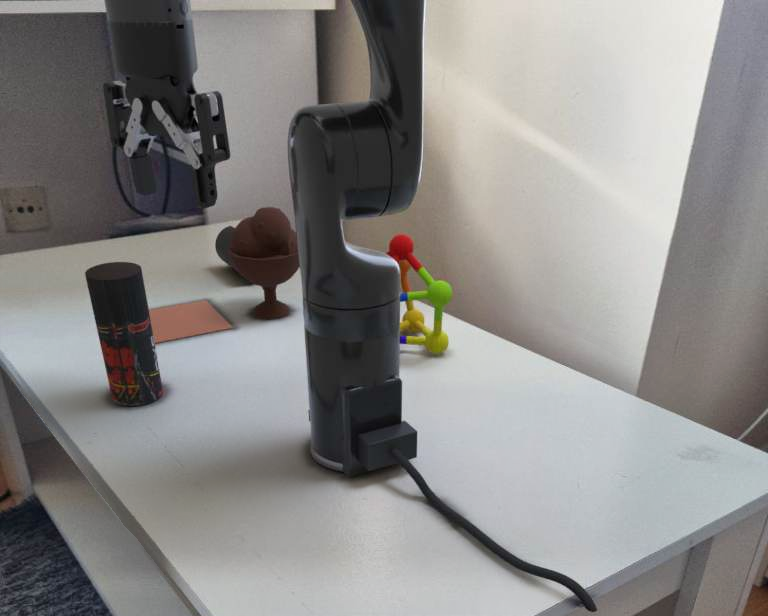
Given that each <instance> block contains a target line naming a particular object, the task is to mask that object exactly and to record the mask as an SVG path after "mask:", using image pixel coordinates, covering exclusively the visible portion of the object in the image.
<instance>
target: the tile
mask: <svg viewBox="0 0 768 616" xmlns="http://www.w3.org/2000/svg"><path fill="white" fill-rule="evenodd" d="M149 314H150V320H151V326H152V331H153V337H154V343H155V344H159V343H164V342H169V341H170V342H171V341H175V340H180V339H185V338H191V337H196V336H200V335H207V334H210V333H215V332H221V331H226V330H230V329H231V330H232V329H234V327H233V326H232V325H231V324H230V322H228V321H227V320H226V318H225V317H223V315H222V314H221V313H219V312H218V311H217V310H216V309H215V307H213V306H212V305H211V303H210V302H209V301H207V300H206V299H204V300H198V301H193V302H187V303H182V304H176V305H171V306H165V307H160V308H154V309H149Z"/></svg>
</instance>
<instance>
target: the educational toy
mask: <svg viewBox="0 0 768 616" xmlns="http://www.w3.org/2000/svg"><path fill="white" fill-rule="evenodd" d="M414 244H415V243H414V241H413V240H412V238H411V237H410V236H408V235H407V234H403V233H401V234H396V235H395V236H393V237H392V238H391V239H390V242H389V244H388V251H386V252H384V253H385V254H387V255H389V256H390V257H392V258H393V259H395V261H396V262H397V263H398V265H399V268H400V274H401V289H402V292H400V303H404V302H405V306H406V312H405V313H403V316H402V318H401V321H400V332H402V331H404V330H406V331H407V332H410V333H417V332H420V333H421V334H422V335H423V336H411V335H400V345H413V346H414V345H416V346H425V348H426V350H427V351H428V352H430V353H432V354H434V355H438V354H439V355H440V354H442V353H444V352H445V351H446V350H447V349H448V347H449V344H450V343H449V342H450V340H449V336H448V334H447V332H445V331H444V330H443V329H442V328H443V314H444V313H443V312H444V311H443V310H444V307H445V306H446V305H448V304H449V303H450V301H451V300H452V297H453V289H452V287H451V285H450V284H449V283H448V282H447V281H445V280H442V279H441V280H434V278H433V277H432V276H431V275H430V274H429V272H428V271H427V270H426V269H425V268H424V266H423V265H422V264H421V262H420V261H419V260H418V258H416V257H415V255H414V254H413V253H414V249H415V246H414ZM411 268H412V269H413V270H414V271H415V273H416V274H417V275H418V276H419V278H420V279H421V280H422V281H423V282H424V284H425V285H426V286H427V290H419V291H412V290H411V287H410V282H409V278H408V274H407V273H408V272H409V271H410V270H411ZM422 300H428V302H429V303H430V304H431V305H432V306H434V310H433V311H434V314H433V329H432V330H430V328H429V327H427V326H426V325H425V320H426V319H425V316H424V313H423V312H422V311H421V310H419V309H417V308H415V305H414V301H422Z"/></svg>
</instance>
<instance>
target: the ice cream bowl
mask: <svg viewBox="0 0 768 616" xmlns="http://www.w3.org/2000/svg"><path fill="white" fill-rule="evenodd" d="M234 228H235V229H234V230H233V232H232V235H231V238H230V246H229V247H228V248H227V249H226V252H227V255H228V259H229V261H230V263H231V264H232V266H233V268H234V270H235V271H236V272H237V273H238V274H239V275H240V276H241V277H243V278H244V279H245V280H247V282H250V283H251V284H254V285H255V286H259V287H261V288H262V290H263V301H261V302H260V303H258V304H257V305H255V306H254V308H253V310H252V315H253V316H254V317H256V318H257V319H263V320H275V319H278V320H279V319H281V318H285V317H287V316H289V315H290V313H291V308H290V306H288V305H287V304H286V303H284V302H282V301H280V300H278V299H277V291H276V290H277V288H278V286H279V285H282V284H285V283H286V282H287V281H289V280H290V279H292V278H293V277H294V275H296V273H297V272H298V270H300V265H299V259H298V250H297V238H296V230H294V229H293V228H292V225H291V221H290V220H289V217H288V216H287V215H286V214H285V213H284V212H283V211H282V209H280V208H278V207H274V206H271V207H270V206H267V207H266V206H265V207H261V208H258V209H257V210H256V211H255V213H254V214H253V216H249V217H245V218H244V219H242V220H241V221H240V222H238V224H237V225H236V226H235V227H234ZM233 268H232V269H233Z"/></svg>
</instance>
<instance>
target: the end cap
mask: <svg viewBox="0 0 768 616" xmlns="http://www.w3.org/2000/svg"><path fill="white" fill-rule="evenodd" d="M235 228H236V227H234V226H232V225H228V226H226V227H224V228H222V229H221V230H220V231H219V233H218V235H217V236H216V238H215V243H214V246H215V247H214V248H215V253H216V254H217V256H218V257H219V259H220V260H221V261H222V262H224V263H225V264H226V265H228V266H229V267H230V268H232V269H234V268H233V266H232V264H231V263H230V261H229V259H228V255H227V252H226V249H227V248H228V247H229V246H230V238H231V235H232V232H233V230H234V229H235ZM234 270H235V269H234Z"/></svg>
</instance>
